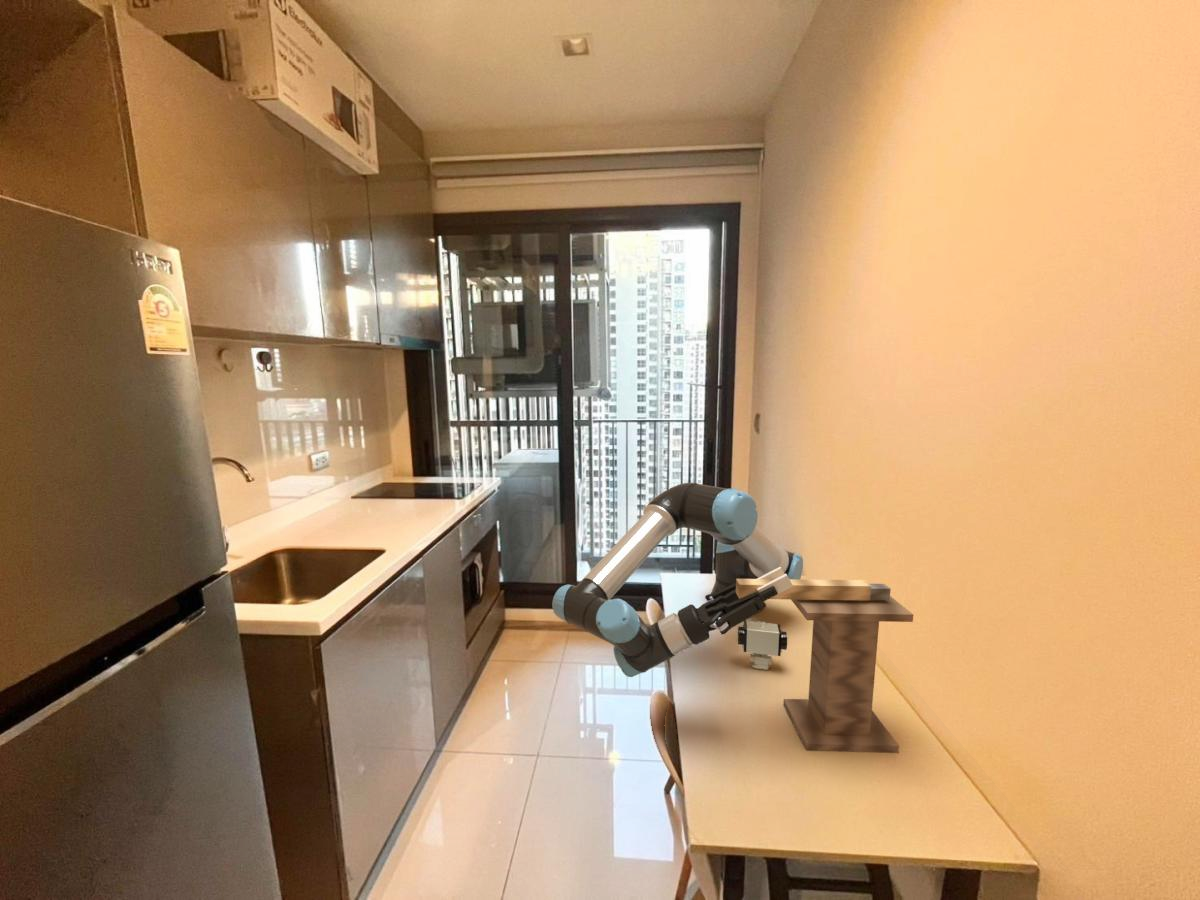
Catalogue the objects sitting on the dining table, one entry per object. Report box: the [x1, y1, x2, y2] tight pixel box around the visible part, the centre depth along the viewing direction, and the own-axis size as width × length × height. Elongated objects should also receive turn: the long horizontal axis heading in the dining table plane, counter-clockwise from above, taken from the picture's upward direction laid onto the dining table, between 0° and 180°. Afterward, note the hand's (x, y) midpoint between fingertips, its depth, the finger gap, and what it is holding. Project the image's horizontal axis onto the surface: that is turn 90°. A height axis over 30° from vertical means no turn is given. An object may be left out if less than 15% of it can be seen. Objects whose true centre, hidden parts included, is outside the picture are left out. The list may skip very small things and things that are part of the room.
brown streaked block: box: [736, 578, 892, 600], centre depth 102 cm, size 30×3×3 cm, turn 88°
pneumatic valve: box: [737, 620, 788, 671], centre depth 128 cm, size 6×12×12 cm, turn 77°
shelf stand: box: [782, 595, 914, 754], centre depth 104 cm, size 20×14×28 cm
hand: (786, 576), depth 102 cm, fingers closed on brown streaked block, 3 cm apart
